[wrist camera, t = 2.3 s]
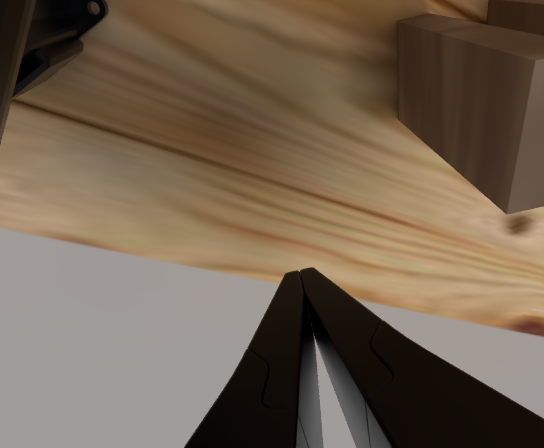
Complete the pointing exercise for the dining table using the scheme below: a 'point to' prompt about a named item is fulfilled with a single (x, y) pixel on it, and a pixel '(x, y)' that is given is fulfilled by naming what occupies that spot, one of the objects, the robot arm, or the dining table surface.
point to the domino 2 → (517, 15)
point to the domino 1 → (477, 103)
